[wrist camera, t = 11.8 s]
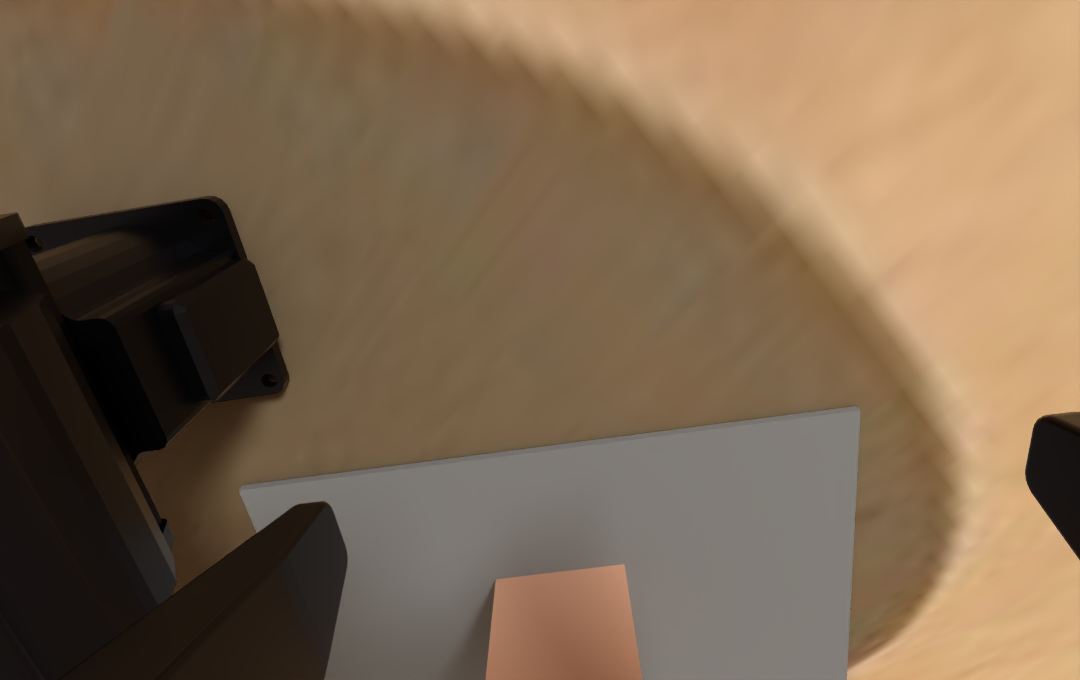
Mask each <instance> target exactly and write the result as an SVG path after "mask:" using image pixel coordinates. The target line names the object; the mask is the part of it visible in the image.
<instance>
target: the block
mask: <svg viewBox="0 0 1080 680" xmlns="http://www.w3.org/2000/svg"><path fill="white" fill-rule="evenodd" d="M486 680H642V674H641V667H640V661H639V655H638V648H637V642H636V635H635V629H634V622H633V616H632V610H631V603H630V597H629V590H628V584H627V577H626V571H625V565H624V564H621V565H613V566H604V567H596V568H587V569H579V570H570V571H562V572H554V573H545V574H537V575H528V576H520V577H511V578H503V579H496V582H495V592H494V602H493V612H492V621H491V631H490V641H489V651H488V660H487V670H486Z"/></svg>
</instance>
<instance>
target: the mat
mask: <svg viewBox="0 0 1080 680" xmlns="http://www.w3.org/2000/svg"><path fill="white" fill-rule="evenodd" d="M860 412H861V410H860V409H859V408H858V407H857V406H853V407H845V408H837V409H830V410H822V411H814V412H806V413H799V414H791V415H783V416H776V417H768V418H760V419H752V420H745V421H737V422H729V423H721V424H714V425H706V426H698V427H690V428H683V429H675V430H667V431H659V432H652V433H644V434H636V435H628V436H621V437H613V438H605V439H598V440H590V441H582V442H574V443H567V444H559V445H551V446H543V447H536V448H528V449H520V450H512V451H505V452H497V453H489V454H481V455H474V456H466V457H458V458H450V459H443V460H435V461H427V462H420V463H412V464H404V465H396V466H389V467H381V468H373V469H365V470H358V471H350V472H342V473H334V474H327V475H319V476H311V477H303V478H296V479H288V480H280V481H272V482H265V483H257V484H249V485H242V486H241V488H240V489H239V493H240V495H241V497H242V500H243V502H244V504H245V507H246V509H247V511H248V514H249V516H250V518H251V521H252V523H253V525H254V528H255V530H256V532H257V533H258V532H259V531H260V530H262V529H263V528H265V527H266V526H267V525H269V524H270V523H271V522H273V521H274V520H275V519H277V518H278V517H280V516H281V515H282V514H284V513H285V512H286V511H288V510H289V509H290V508H292V507H293V506H295V505H297V504H302V503H310V502H319V501H325V502H327V503H328V504H330V506H331V507H332V509H333V511H334V514H335V517H336V520H337V523H338V525H339V528H340V531H341V534H342V537H343V540H344V543H345V545H346V549H347V554H348V565H347V571H346V576H345V581H344V586H343V591H342V596H341V602H340V607H339V612H338V617H337V622H336V627H335V632H334V637H333V642H332V647H331V652H330V657H329V662H328V666H327V671H326V675H325V679H324V680H486V670H487V660H488V651H489V641H490V631H491V621H492V612H493V602H494V592H495V582H496V579H503V578H511V577H520V576H528V575H537V574H545V573H554V572H562V571H570V570H579V569H587V568H596V567H604V566H613V565H621V564H624V565H625V571H626V577H627V584H628V590H629V597H630V603H631V610H632V616H633V622H634V629H635V635H636V642H637V648H638V655H639V661H640V667H641V674H642V680H847V662H848V643H849V623H850V604H851V585H852V566H853V547H854V527H855V508H856V489H857V470H858V451H859V431H860Z"/></svg>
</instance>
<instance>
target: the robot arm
mask: <svg viewBox="0 0 1080 680" xmlns="http://www.w3.org/2000/svg"><path fill="white" fill-rule="evenodd" d="M206 207H209V208H211V209H212V210H213V211H214V212H215V214H216V220H215V221H212V220H211V219H209V218H208V217H207V215H206V211H205V209H206ZM35 237H36V238H38V239H39V240H40V241H41V243H42V248H41V247H40V246H38V245H37V243H36V242H35ZM278 337H279V333H278V330H277V327H276V324H275V321H274V319H273V316H272V313H271V310H270V307H269V304H268V302H267V299H266V296H265V293H264V290H263V288H262V285H261V282H260V279H259V276H258V273H257V271H256V268H255V265H254V264H253V263H251V262H250V261H249V260H248V259H247V256H246V254H245V251H244V248H243V245H242V242H241V240H240V237H239V234H238V231H237V228H236V226H235V223H234V220H233V217H232V215H231V212H230V209H229V208H228V206H227V204H226V203H225V202H224V201H223V200H222V199H220V198H217V197H215V196H205V197H199V198H193V199H187V200H181V201H175V202H169V203H163V204H157V205H151V206H145V207H138V208H132V209H126V210H120V211H114V212H108V213H102V214H96V215H90V216H84V217H78V218H72V219H66V220H60V221H54V222H48V223H42V224H36V225H32V226H29V227H26V228H25V227H24V225H23V223H22V221H21V219H20V216H19V214H18V213H9V214H3V215H0V680H324V679H325V675H326V671H327V666H328V662H329V657H330V652H331V647H332V642H333V637H334V632H335V627H336V622H337V617H338V612H339V607H340V602H341V596H342V591H343V586H344V581H345V576H346V571H347V565H348V554H347V549H346V545H345V543H344V540H343V537H342V534H341V531H340V528H339V525H338V523H337V520H336V517H335V514H334V511H333V509H332V507H331V506H330V504H328V503H327V502H325V501H319V502H310V503H302V504H297V505H295V506H293V507H292V508H290V509H289V510H288V511H286V512H285V513H284V514H282V515H281V516H280V517H278V518H277V519H275V520H274V521H273V522H271V523H270V524H269V525H267V526H266V527H265V528H263V529H262V530H260V531H259V532H258V533H256V534H255V535H254V536H252V537H251V538H250V539H248V540H247V541H246V542H244V543H243V544H241V545H240V546H239V547H237V548H236V549H235V550H233V551H232V552H231V553H229V554H228V555H226V556H225V557H224V558H222V559H221V560H220V561H218V562H217V563H216V564H214V565H213V566H212V567H210V568H209V569H207V570H206V571H205V572H203V573H202V574H201V575H199V576H198V577H197V578H195V579H194V580H192V581H191V582H190V583H188V584H187V585H186V586H184V587H183V588H182V589H180V590H179V591H177V592H176V593H175V594H173V595H172V593H173V590H174V588H175V585H176V583H177V579H176V570H175V562H174V556H173V554H172V552H171V548H172V545H173V541H174V538H175V537H174V534H173V532H172V530H171V528H170V526H169V524H168V522H167V520H166V519H161V518H160V516H159V514H158V512H157V509H156V507H155V505H154V503H153V501H152V499H151V497H150V495H149V493H148V491H147V489H146V487H145V485H144V483H143V481H142V479H141V477H140V475H139V473H138V471H137V469H136V466H137V465H138V464H139V463H140V462H141V461H142V460H143V459H144V458H145V457H146V456H147V455H148V454H149V453H150V452H151V451H154V450H160V449H162V448H165V447H166V446H167V445H168V444H169V443H170V442H171V441H172V440H173V439H174V438H175V437H176V436H177V435H178V434H179V433H180V432H181V431H182V430H183V429H184V428H185V427H186V426H187V425H188V424H189V423H190V422H191V421H192V420H193V419H194V418H195V417H196V416H197V415H198V414H199V413H201V412H202V411H203V410H204V409H205V408H206V407H207V406H208V405H209V404H210V403H213V402H221V401H228V400H235V399H242V398H249V397H256V396H263V395H271V394H275V393H278V392H280V391H281V390H282V389H283V388H284V387H285V385H286V384H287V383H288V380H289V375H288V371H287V368H286V365H285V363H284V360H283V357H282V354H281V351H280V349H279V346H278V343H277V339H278ZM266 374H271V375H273V376H274V377H275V378H276V380H277V382H272V381H270V380H269V379H268V378H267V376H266ZM1025 475H1026V481H1027V484H1028V487H1029V489H1030V491H1031V492H1032V494H1033V495H1034V497H1035V498H1036V500H1037V501H1038V502H1039V504H1040V505H1041V507H1042V508H1043V509H1044V511H1045V512H1046V514H1047V515H1048V516H1049V518H1050V519H1051V521H1052V522H1053V523H1054V525H1055V526H1056V528H1057V529H1058V530H1059V532H1060V533H1061V534H1062V536H1063V537H1064V539H1065V540H1066V541H1067V543H1068V544H1069V546H1070V547H1071V548H1072V550H1073V551H1074V553H1075V554H1076V555H1077V557H1078V558H1079V560H1080V412H1068V413H1060V414H1052V415H1045V416H1042V417H1041V418H1039V419H1038V420H1037V421H1036V423H1035V424H1034V428H1033V432H1032V438H1031V443H1030V448H1029V453H1028V459H1027V464H1026V470H1025ZM171 595H172V596H171Z"/></svg>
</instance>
